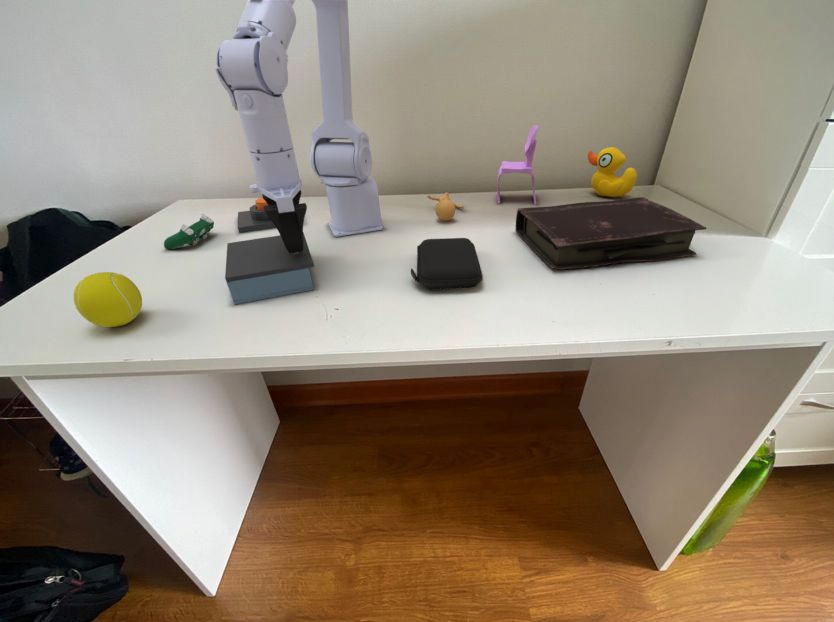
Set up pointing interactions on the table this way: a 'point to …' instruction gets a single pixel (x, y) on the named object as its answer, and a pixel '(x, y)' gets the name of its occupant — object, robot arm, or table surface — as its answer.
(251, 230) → the control block
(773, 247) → the table surface
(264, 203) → the button
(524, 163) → the toy chair
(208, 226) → the green toy race car
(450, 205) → the figurine
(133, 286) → the tennis ball
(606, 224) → the diary
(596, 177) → the duckling
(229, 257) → the lid
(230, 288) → the lidded storage box
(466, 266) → the carrying case
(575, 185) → the table surface
